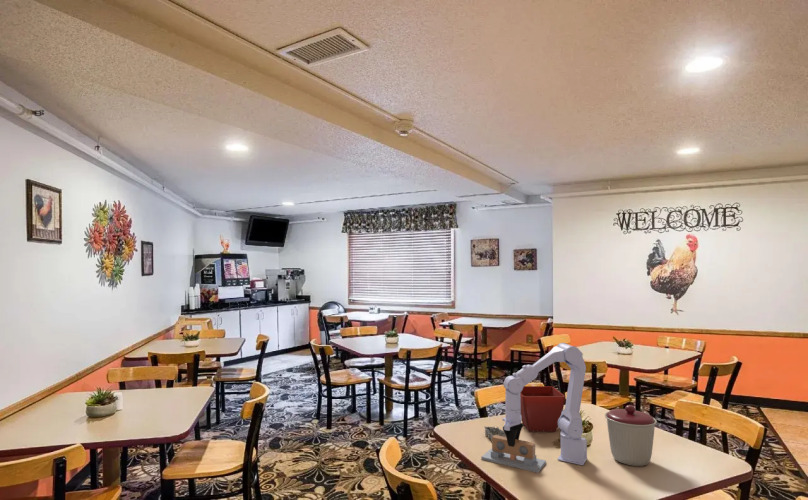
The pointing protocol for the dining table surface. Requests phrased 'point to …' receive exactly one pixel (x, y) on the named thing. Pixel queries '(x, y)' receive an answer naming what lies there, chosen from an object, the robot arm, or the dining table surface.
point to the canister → (631, 435)
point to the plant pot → (541, 408)
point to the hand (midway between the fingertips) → (513, 444)
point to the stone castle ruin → (494, 432)
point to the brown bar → (519, 448)
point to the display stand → (514, 460)
